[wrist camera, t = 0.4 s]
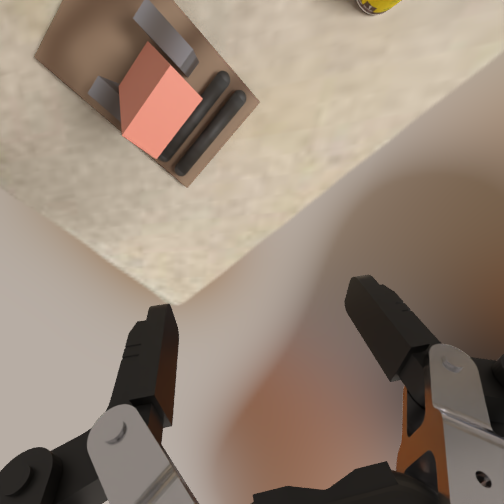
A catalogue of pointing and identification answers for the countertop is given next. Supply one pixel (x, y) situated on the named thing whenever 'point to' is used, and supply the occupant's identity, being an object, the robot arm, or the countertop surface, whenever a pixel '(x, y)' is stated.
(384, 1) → the supplement bottle
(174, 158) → the switch board
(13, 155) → the countertop surface
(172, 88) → the lever
